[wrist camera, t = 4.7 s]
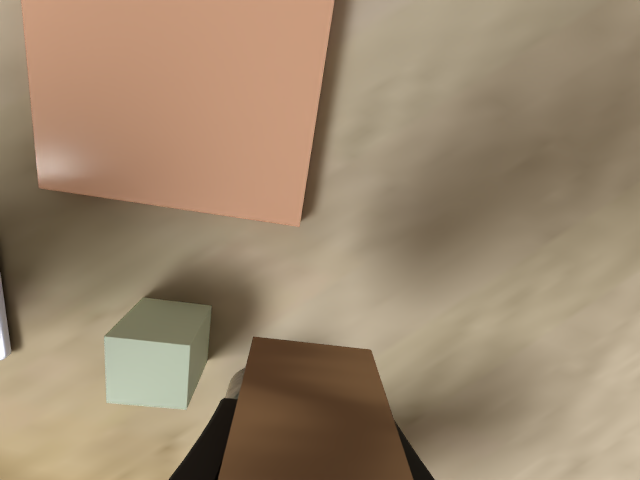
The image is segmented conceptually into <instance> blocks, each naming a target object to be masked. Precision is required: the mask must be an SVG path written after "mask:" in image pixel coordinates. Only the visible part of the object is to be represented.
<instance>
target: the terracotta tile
mask: <svg viewBox="0 0 640 480" xmlns="http://www.w3.org/2000/svg"><path fill="white" fill-rule="evenodd" d="M21 4H22V14H23V25H24V36H25V47H26V57H27V68H28V79H29V89H30V100H31V111H32V122H33V132H34V143H35V154H36V165H37V175H38V186H39V188H41V189H47V190H54V191H61V192H68V193H74V194H81V195H88V196H95V197H101V198H108V199H115V200H122V201H128V202H135V203H142V204H149V205H155V206H162V207H169V208H176V209H182V210H189V211H196V212H203V213H209V214H216V215H223V216H230V217H237V218H243V219H250V220H257V221H264V222H270V223H277V224H284V225H291V226H297V227H300V220H301V214H302V207H303V201H304V194H305V188H306V182H307V175H308V169H309V162H310V156H311V149H312V143H313V136H314V130H315V123H316V117H317V110H318V104H319V97H320V91H321V84H322V78H323V71H324V65H325V59H326V52H327V46H328V39H329V33H330V26H331V20H332V13H333V7H334V0H21Z"/></svg>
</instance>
